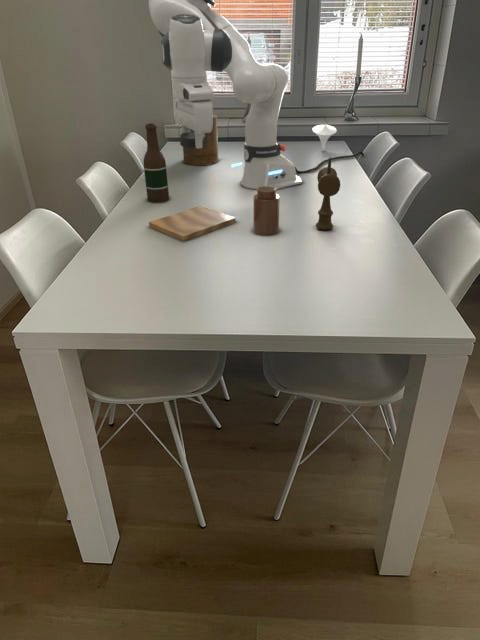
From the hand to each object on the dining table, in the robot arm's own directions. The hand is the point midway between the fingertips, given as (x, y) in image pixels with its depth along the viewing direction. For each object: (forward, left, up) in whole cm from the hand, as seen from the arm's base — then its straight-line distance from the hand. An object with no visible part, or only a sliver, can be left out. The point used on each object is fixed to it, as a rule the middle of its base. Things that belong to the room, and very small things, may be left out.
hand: (193, 145), depth 133 cm
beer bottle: (+3, -29, -23) cm, 37 cm away
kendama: (-32, +19, -23) cm, 44 cm away
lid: (0, 0, +2) cm, 2 cm away
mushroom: (-85, -62, -23) cm, 108 cm away
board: (+1, -1, -23) cm, 23 cm away
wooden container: (-29, -71, -23) cm, 80 cm away
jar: (-16, +13, -23) cm, 31 cm away
